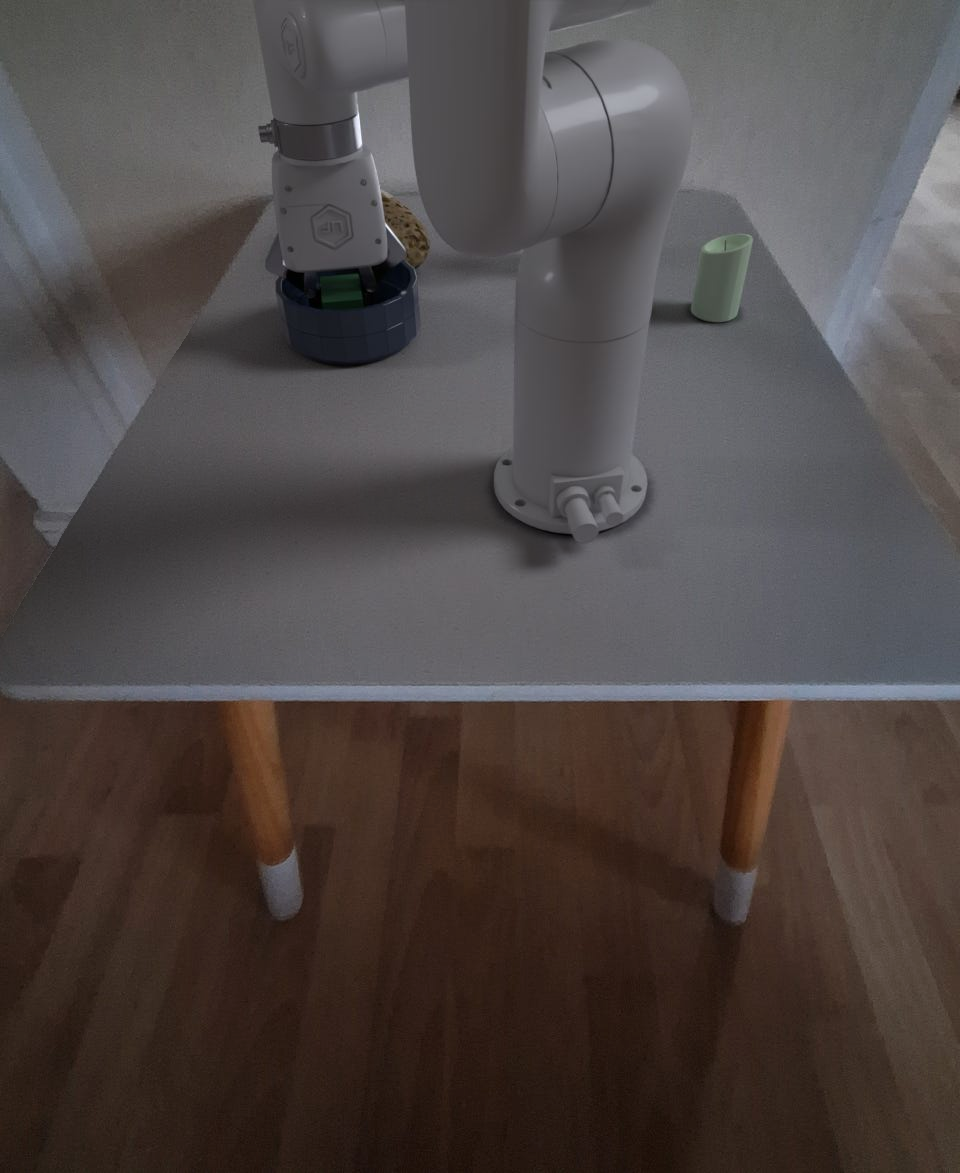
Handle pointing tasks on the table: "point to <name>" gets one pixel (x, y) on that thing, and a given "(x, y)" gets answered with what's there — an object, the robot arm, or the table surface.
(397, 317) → the bowl
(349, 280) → the scrub sponge
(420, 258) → the sponge
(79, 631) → the table surface
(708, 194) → the table surface
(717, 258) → the candle
